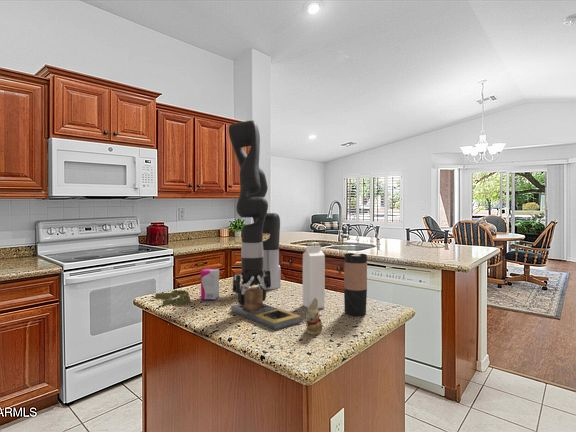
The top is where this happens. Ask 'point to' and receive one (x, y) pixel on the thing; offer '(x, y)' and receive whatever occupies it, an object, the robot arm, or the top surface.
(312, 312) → the chocolate bunny
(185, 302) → the cookie cutter
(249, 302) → the block
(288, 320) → the gray slotted board
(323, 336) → the top surface
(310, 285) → the milk
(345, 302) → the travel mug
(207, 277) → the supplement box
